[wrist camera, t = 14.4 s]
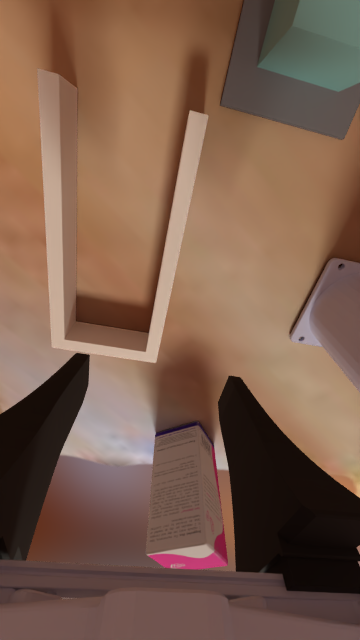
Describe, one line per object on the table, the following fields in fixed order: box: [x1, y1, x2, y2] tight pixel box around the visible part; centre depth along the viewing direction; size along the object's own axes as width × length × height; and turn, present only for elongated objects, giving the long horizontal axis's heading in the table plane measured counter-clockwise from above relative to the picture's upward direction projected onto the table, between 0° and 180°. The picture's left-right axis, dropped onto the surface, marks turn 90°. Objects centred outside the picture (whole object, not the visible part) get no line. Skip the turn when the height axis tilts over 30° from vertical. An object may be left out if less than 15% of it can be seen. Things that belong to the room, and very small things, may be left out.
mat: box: [220, 0, 360, 140], centre depth 14 cm, size 8×8×1 cm
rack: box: [37, 68, 209, 363], centre depth 18 cm, size 8×17×3 cm, turn 168°
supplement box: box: [146, 421, 228, 570], centre depth 27 cm, size 6×6×12 cm
